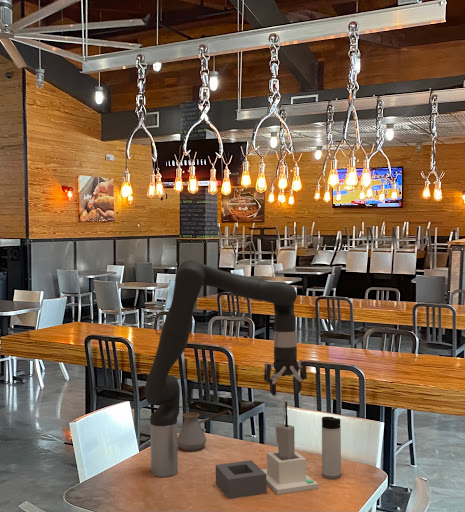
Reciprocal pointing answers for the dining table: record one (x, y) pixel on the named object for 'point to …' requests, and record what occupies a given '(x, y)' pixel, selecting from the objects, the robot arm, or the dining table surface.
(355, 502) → the dining table surface
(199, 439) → the coffee pot
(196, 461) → the dining table surface
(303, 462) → the charging dock
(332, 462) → the travel mug
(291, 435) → the vintage mobile phone
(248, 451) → the dining table surface
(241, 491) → the holster
